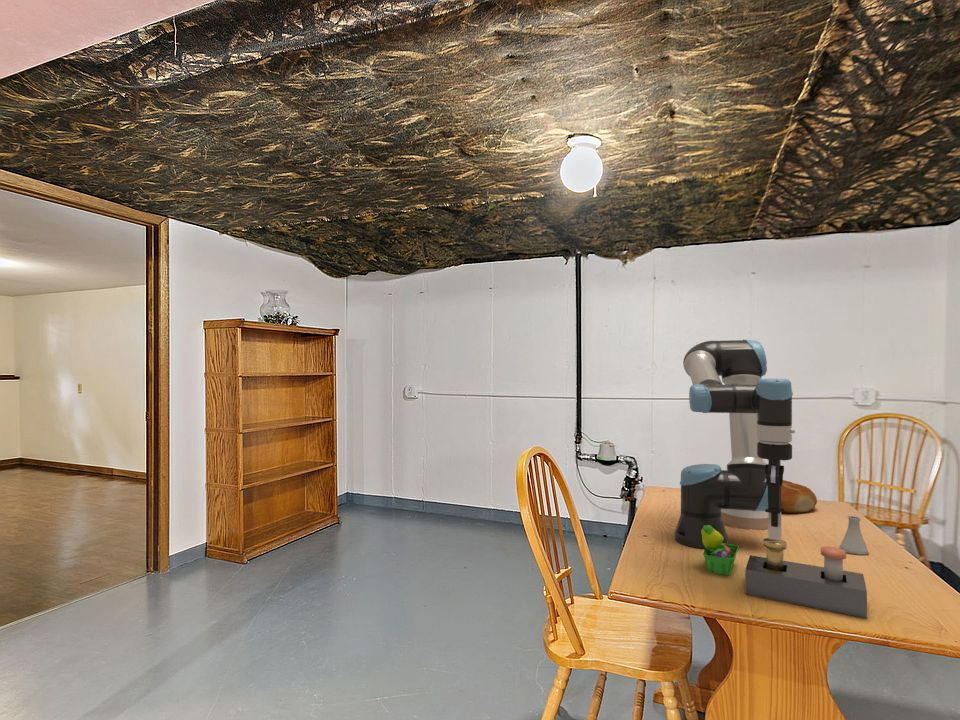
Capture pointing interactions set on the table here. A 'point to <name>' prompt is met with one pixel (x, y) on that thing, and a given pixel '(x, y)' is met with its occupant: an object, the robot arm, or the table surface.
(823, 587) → the block
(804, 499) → the bread
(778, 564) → the brass plunger
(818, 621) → the table surface
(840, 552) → the red plunger
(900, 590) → the table surface
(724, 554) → the fruit basket
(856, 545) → the flask
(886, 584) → the table surface
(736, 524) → the bowl
